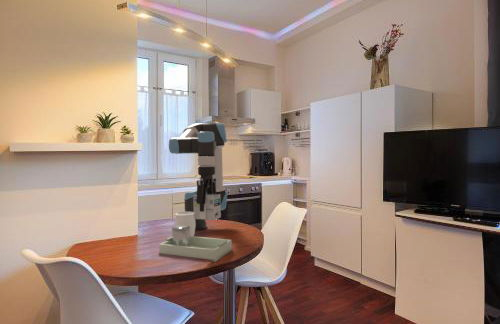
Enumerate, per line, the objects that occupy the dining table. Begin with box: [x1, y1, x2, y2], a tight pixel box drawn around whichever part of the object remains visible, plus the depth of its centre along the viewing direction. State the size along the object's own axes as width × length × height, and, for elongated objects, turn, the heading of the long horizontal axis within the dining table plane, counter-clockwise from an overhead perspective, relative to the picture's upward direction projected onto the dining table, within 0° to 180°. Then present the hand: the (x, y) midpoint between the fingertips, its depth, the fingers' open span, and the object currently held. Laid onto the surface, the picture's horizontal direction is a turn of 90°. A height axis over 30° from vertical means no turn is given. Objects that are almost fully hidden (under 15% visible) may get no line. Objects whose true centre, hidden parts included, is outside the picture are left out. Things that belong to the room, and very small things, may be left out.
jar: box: [174, 211, 196, 236], centre depth 161 cm, size 11×10×15 cm
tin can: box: [171, 225, 190, 247], centre depth 145 cm, size 8×8×10 cm
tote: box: [158, 235, 233, 263], centre depth 142 cm, size 17×28×6 cm, turn 69°
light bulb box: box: [193, 194, 222, 221], centre depth 140 cm, size 11×7×11 cm, turn 71°
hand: (207, 217), depth 140 cm, fingers closed on light bulb box, 7 cm apart
